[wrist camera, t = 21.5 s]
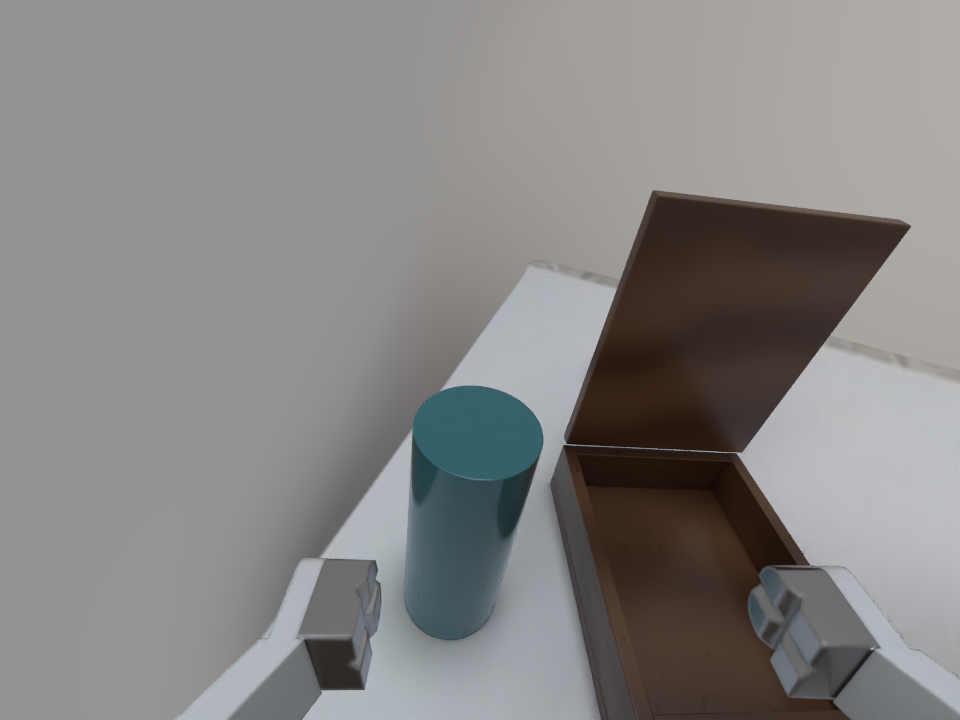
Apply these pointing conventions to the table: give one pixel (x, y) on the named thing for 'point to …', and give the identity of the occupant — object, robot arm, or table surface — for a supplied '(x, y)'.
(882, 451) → the table surface
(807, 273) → the lid
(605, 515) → the chest
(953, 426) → the table surface
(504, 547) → the canister
